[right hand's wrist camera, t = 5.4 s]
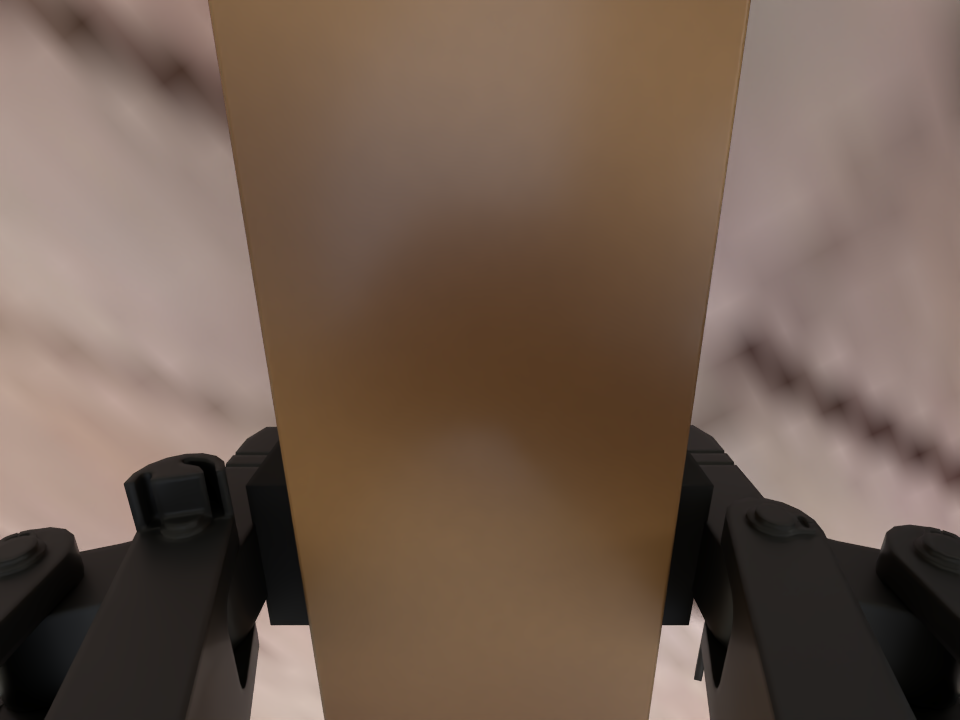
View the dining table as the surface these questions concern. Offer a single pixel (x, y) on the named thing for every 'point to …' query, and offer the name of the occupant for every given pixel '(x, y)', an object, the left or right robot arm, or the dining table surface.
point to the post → (482, 329)
